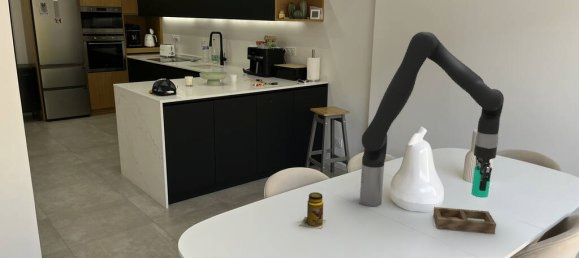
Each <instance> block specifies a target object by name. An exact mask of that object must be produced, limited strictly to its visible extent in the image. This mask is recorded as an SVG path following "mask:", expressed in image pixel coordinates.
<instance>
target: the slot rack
mask: <svg viewBox="0 0 579 258" xmlns="http://www.w3.org/2000/svg"><path fill="white" fill-rule="evenodd" d="M432 213H433V214H432V216H433V220H434V223H435V226H436V229H437V230H447V231H449V230H450V231H459V232H468V233H482V234H489V235H491V234H492V235H495V234H496V228H497V223H496V221H495V219H494V218H493V216H492V215H491V213H490V212H489V210H488V211H487V210H479V209H478V210H475V209H467V208H465V209H464V208H452V207H440V206H434V207H433V212H432Z"/></svg>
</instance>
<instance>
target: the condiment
mask: <svg viewBox="0 0 579 258" xmlns="http://www.w3.org/2000/svg"><path fill="white" fill-rule="evenodd" d="M323 198H324V197H323V194H322V193H320V192H315V191H314V192H313V191H312V192H310V193H309V194H308V199H307V205H306V206H307V209H306V210H307V212H306V214H307V215H306V216H304V217H303V219H302V220H301V222H300V224H299V226H303V227H309V228H315V229H322V228H323V226H324V224H325V222H326V219H324V201H323V200H324V199H323Z"/></svg>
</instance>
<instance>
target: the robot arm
mask: <svg viewBox="0 0 579 258" xmlns="http://www.w3.org/2000/svg"><path fill="white" fill-rule="evenodd" d="M427 59H428V60H430V61H431V62H434V64H436V65H437V66H439V67H440V68H441V69H442V70H443V71H444V72H445V74H446V75H447V76H448V77H449V78H450V80H452V81H453V82H454V83H455V84H456V85H458V86H459V87H460V89H462V90H463V91H465V92H466V93H467V94H468V95H469V96H470V97H471V99H473V100H474V101H475V103H476V104H477V105H479V107H481V112H480V116H479V118H478V122H477V123H478V124H477V131H476V135H475V140H474V141H475V142H474V149H473V155H474V157H475V166H477V168H478V167H479V170H480V171H479V174H480V175H481V176H480V186H479V190H480V191H485V190H486V184H487V182H489V181H490V182H491V178H490V176H491V177H492V171H493V168H492V166H491V164H492V163H491V162H490V160H493V159H496V157H497V153H498V152H497V151H498V145H499V144H498V141H499V130H500V124H501V122H500V120H501V115H502V112H503V107H504V102H505V97H504V95H503V92H502V91H500V89H497V88H491V87H490V86H488V85H487V84H486V83H485V82H484V79H483V78H482V77H481V76H480V75H479V74H477V73H476V72H475V71H473V70H472V69H471V68H470V67H469V66H468V65H466V64H465V63H464V62H462V61H461V60H459V59H458V58H457V57H456V56H454V55H453V54H452V52H450V51H449V49H447V48H446V47H445V45H444V44H443V43H442V42H441V41H440V40H439V39H438V37H437V36H436V35H435V34H434V33H432V32H430V31H420V32H417V33H415V34H414V35H413V36H412V37H411V39H410V41H409V44H408V46H407V48H406V52H405V54H404V56H403V59H402V61H401V63H400V65H399V66H398V68H397V70H396V72H395V73H394V75H393V77H392V78H391V80H390V82H389V84H388V86H387V88H386V90H385V92H384V93H383V96H382V98H381V100H380V103H379V105H378V107H377V110H376V113H375V115H374V117H373V119H372V120H371V121H370V123H369V124H368V127H367V128H366V129H365V131H364V132H363V134H362V135H361V145H362V147H363V148H364V151H363V155H362V158H361V172H360V175H361V176H360V189H359V190H360V191H359V192H360V193H359V205H362V206H363V205H364V206H367V207H378V206H381V205H382V202H383V201H382V200H383V186H384V171H385V161H386V157H387V150H388V149H387V148H388V147H387V146H388V132H389V129H390V128H391V126H392V125H393V122H395V120H396V119H397V118H398V116H399V114H400V113H401V112H402V110H403V109H404V107H405V106H406V105H407V103H408V101H409V98H410V97H411V95H412V93H413V91H414V87H415V84H416V81H417V78H418V74H419V72H420V70H421V67H422V66H423V65H424V63H425V61H426V60H427ZM475 166H474V167H475ZM481 170H483V173H482V172H481ZM485 176H486V178H484V177H485Z"/></svg>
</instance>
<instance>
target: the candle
mask: <svg viewBox="0 0 579 258" xmlns="http://www.w3.org/2000/svg"><path fill="white" fill-rule="evenodd" d="M473 169H474V170H473V177H472V186H471V193H470V194H471V195H472V196H473V197H476V198H481V199H483V198H484V199H485V198H488V197H489V192H490V186H491V185H490V183H491V180H490V181H489V182H487V184H486V190H485V191H480V190H479V186H480V176H481V175H480V174H479V171H480V170H479V167H478V168H477V166H474V168H473ZM481 172H482V173H483V170H481ZM491 177H492V175H491V176H490V179H491ZM484 178H486V176H485V177H484Z"/></svg>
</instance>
